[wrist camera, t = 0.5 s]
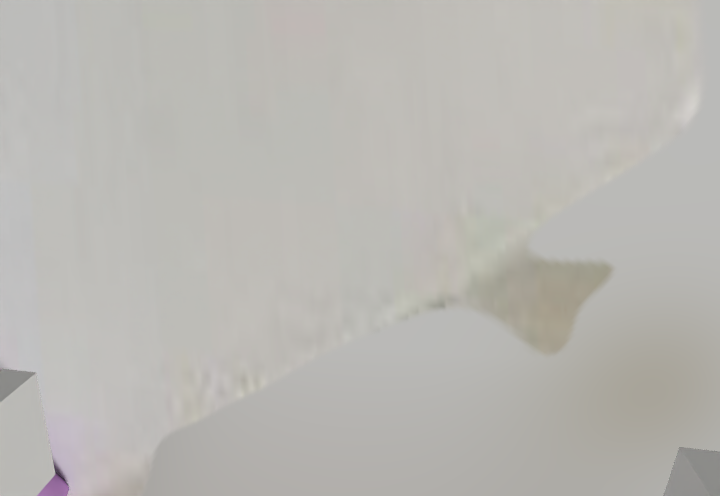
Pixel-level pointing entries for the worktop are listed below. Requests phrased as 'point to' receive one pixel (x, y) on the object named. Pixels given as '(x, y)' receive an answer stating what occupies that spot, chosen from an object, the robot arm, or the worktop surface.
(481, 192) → the worktop surface
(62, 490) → the teakettle
